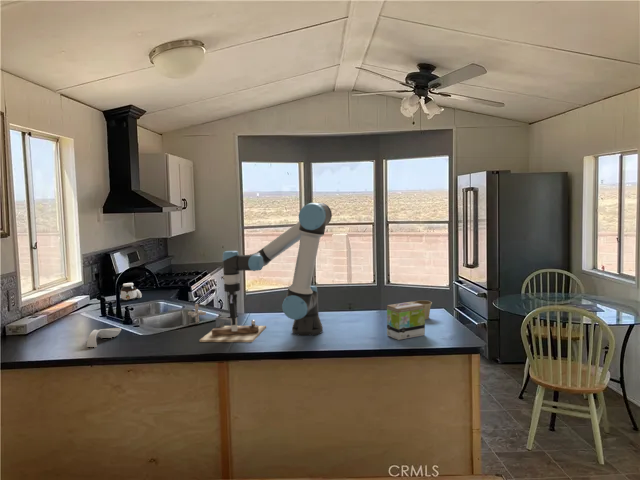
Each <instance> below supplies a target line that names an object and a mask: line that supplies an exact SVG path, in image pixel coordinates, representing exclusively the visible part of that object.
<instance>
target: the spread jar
mask: <svg viewBox="0 0 640 480" xmlns="http://www.w3.org/2000/svg"><path fill="white" fill-rule="evenodd" d="M142 295H143V294H142V292H141V291H140V290H139V289H138V288H136V286H134V283H133V282H127V283H123V284H122V287H121V289H120V298H121V299H122V300H123V301H124V302H130V301H134V300H136V298H137V299H140V298H142Z"/></svg>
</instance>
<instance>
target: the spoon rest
mask: <svg viewBox="0 0 640 480" xmlns="http://www.w3.org/2000/svg"><path fill="white" fill-rule="evenodd" d="M121 331H122V328H119V327H112V328H109V327H108V328H102V329H101V328H100V329H93V330H92V331H91V332H90V334H89V336H88V337H87V342H86V348H87V347H94V348H97V347H98V346H97V345H98V344H97V336H98V337H99V339H100V338H101V339H102V338H111V339H113V338H112V337H114V338H115V337H118V335H119V334H120V333H121Z"/></svg>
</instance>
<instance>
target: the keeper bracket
mask: <svg viewBox="0 0 640 480" xmlns="http://www.w3.org/2000/svg"><path fill="white" fill-rule="evenodd" d="M225 323H229V324H231V318H229V317H226V316H225V317H224V316H218V317H215V328H216V327H218V328H221V327H224V326H225Z"/></svg>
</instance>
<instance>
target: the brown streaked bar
mask: <svg viewBox="0 0 640 480" xmlns="http://www.w3.org/2000/svg"><path fill="white" fill-rule="evenodd" d="M241 326H242V327H237V329H238V331H232V329H231V327H228V328H216V327H215V328H212V329H211V331H212V336H214V335H227V334H241V333H257V332H259V328H258V326H259V325H256V324H255V326H252V325H241Z"/></svg>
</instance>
